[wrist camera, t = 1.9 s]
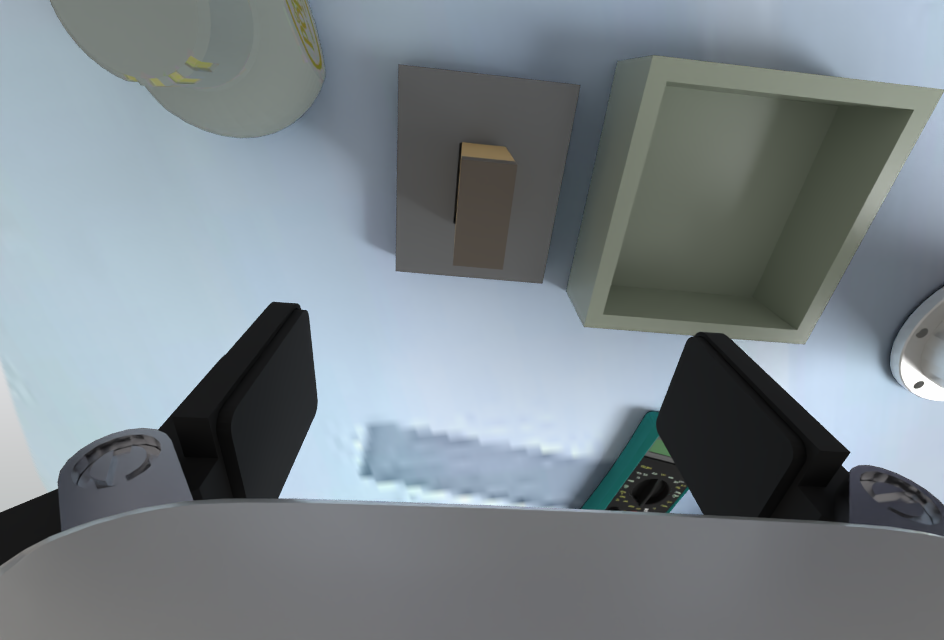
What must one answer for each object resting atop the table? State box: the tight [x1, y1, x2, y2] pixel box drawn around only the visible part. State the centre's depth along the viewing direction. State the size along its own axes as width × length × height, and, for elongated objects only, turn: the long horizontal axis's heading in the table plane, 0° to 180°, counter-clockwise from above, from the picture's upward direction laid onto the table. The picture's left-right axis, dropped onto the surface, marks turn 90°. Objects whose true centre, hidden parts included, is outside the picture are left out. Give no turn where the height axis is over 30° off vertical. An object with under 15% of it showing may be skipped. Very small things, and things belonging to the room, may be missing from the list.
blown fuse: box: [453, 142, 518, 270], centre depth 24 cm, size 2×5×9 cm, turn 174°
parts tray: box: [566, 55, 944, 344], centre depth 27 cm, size 15×15×6 cm
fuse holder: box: [396, 65, 580, 283], centre depth 27 cm, size 10×12×2 cm
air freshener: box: [50, 0, 325, 138], centre depth 20 cm, size 11×8×10 cm
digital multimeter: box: [581, 411, 689, 513], centre depth 41 cm, size 7×15×3 cm, turn 161°
